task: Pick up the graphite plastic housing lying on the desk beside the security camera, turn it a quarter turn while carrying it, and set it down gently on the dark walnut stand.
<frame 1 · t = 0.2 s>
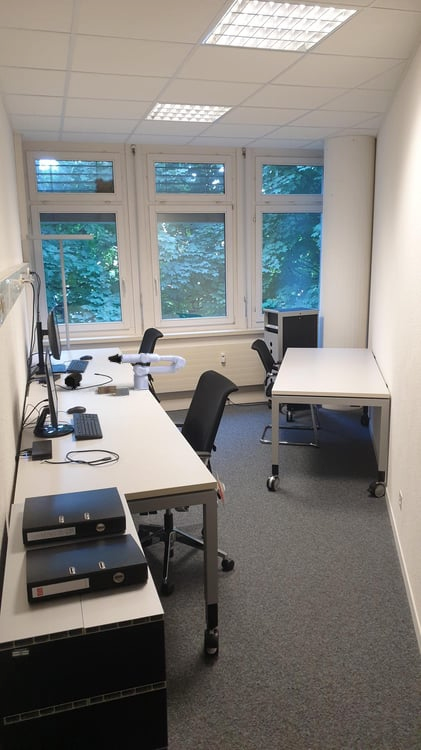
hand: (108, 359, 356), 21 cm above the table, tool horizontal, fingers open, 7 cm apart
security camera: (74, 388, 368), on the table
housing: (122, 395, 349), on the table
stand: (108, 391, 358), on the table
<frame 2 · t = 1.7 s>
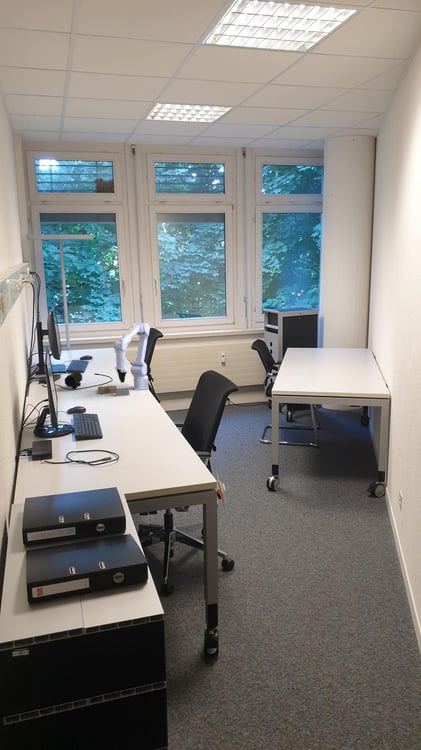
hand: (121, 381, 347), 9 cm above the table, tool pointing down, fingers open, 7 cm apart
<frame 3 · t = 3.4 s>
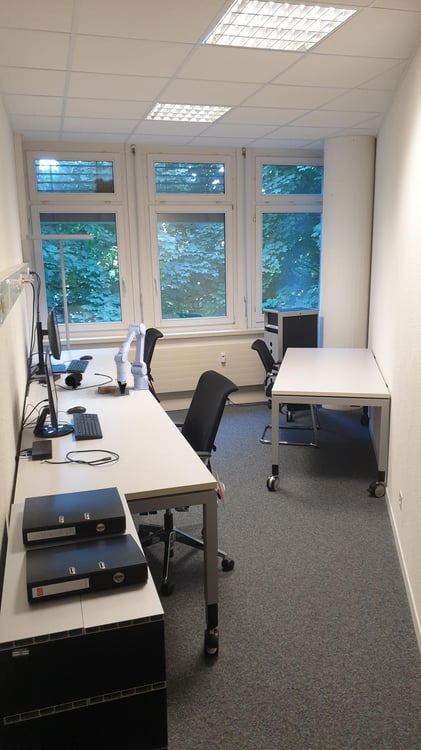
hand: (122, 392, 349), 1 cm above the table, tool pointing down, fingers closed on housing, 4 cm apart
housing: (122, 394, 349), on the table, touching gripper
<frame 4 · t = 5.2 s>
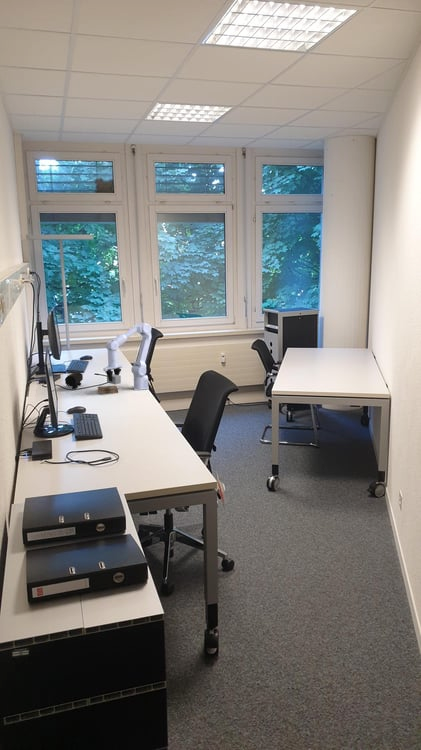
hand: (113, 380, 353), 8 cm above the table, tool pointing down, fingers closed on housing, 4 cm apart
housing: (114, 383, 353), point 7 cm above the table, touching gripper
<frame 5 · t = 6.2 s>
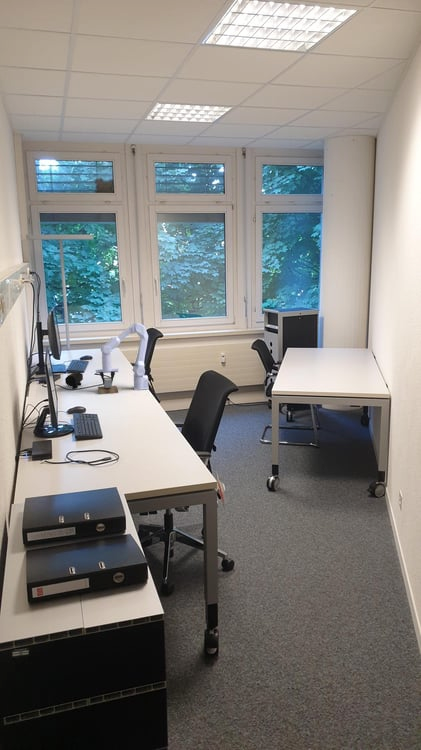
hand: (107, 383, 357), 5 cm above the table, tool pointing down, fingers closed on housing, 4 cm apart
housing: (107, 386, 357), point 4 cm above the table, touching gripper
when the fingers open (5 cm above the table, at t = 7.0 s): housing drops 1 cm, resting on stand.
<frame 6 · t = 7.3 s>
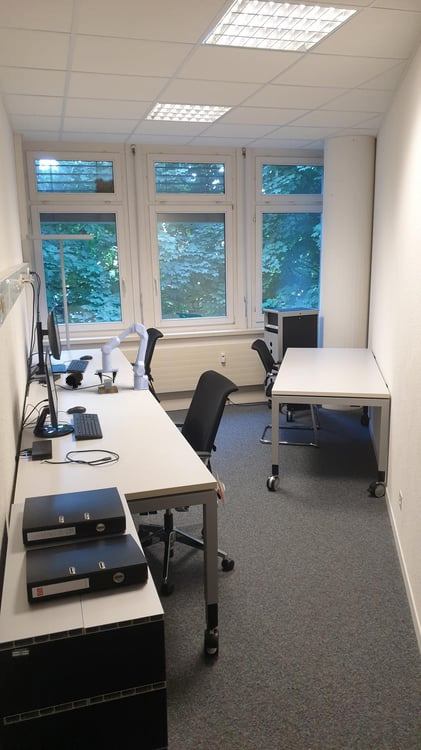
hand: (107, 383, 357), 5 cm above the table, tool pointing down, fingers open, 7 cm apart
housing: (108, 387, 358), point 2 cm above the table, touching stand
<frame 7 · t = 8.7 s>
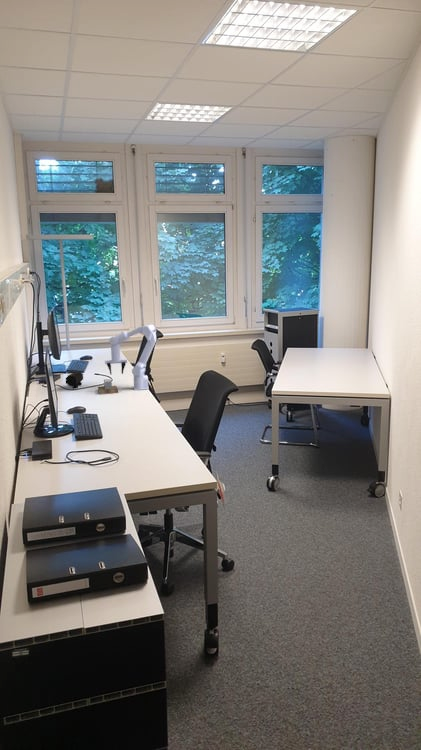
hand: (116, 373, 368), 9 cm above the table, tool pointing down, fingers open, 7 cm apart
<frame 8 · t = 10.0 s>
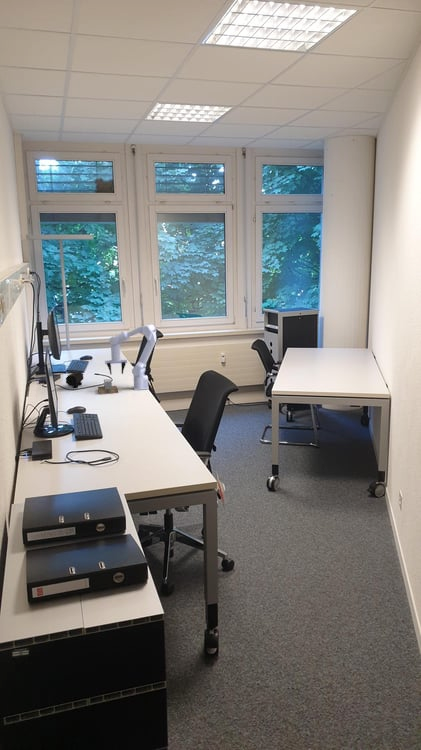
hand: (116, 373, 368), 9 cm above the table, tool pointing down, fingers open, 7 cm apart
at the end: housing 0.3 cm off-centre on the stand, point 2.5 cm above the stand's base; housing tilted 0°; the gripper is holding nothing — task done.
